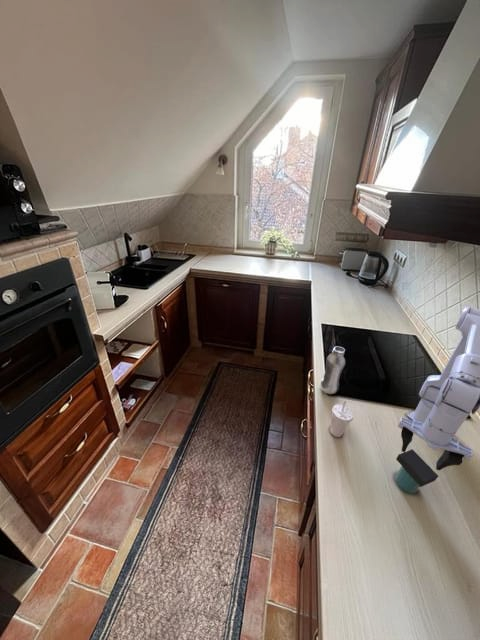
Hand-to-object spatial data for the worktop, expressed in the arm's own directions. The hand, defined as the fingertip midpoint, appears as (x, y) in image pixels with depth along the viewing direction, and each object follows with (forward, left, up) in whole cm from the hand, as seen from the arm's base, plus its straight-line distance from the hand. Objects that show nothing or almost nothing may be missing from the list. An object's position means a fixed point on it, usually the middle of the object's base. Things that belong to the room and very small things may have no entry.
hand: (420, 457), depth 66 cm
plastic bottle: (-2, -35, -11) cm, 37 cm away
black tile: (+1, +1, -4) cm, 4 cm away
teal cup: (+1, +1, -10) cm, 10 cm away
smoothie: (+8, -19, -11) cm, 23 cm away
